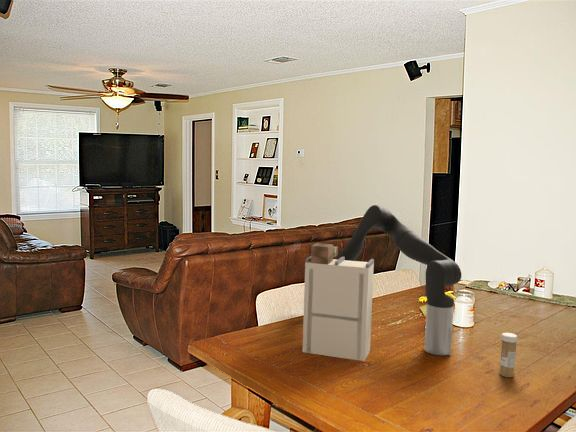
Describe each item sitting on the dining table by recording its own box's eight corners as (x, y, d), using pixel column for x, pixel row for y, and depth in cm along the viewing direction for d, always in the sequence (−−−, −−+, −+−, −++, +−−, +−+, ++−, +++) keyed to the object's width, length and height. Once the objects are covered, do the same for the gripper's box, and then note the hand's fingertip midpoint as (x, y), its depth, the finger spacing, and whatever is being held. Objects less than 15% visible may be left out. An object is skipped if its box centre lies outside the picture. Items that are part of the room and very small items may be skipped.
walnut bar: (341, 254, 195) (342, 239, 194) (327, 264, 174) (328, 247, 174) (326, 253, 197) (326, 238, 196) (310, 263, 176) (311, 245, 176)
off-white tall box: (369, 350, 183) (374, 259, 180) (364, 361, 173) (368, 264, 170) (310, 342, 190) (313, 254, 187) (302, 352, 180) (305, 259, 177)
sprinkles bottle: (496, 372, 167) (499, 332, 165) (509, 372, 167) (512, 332, 166) (503, 378, 162) (506, 336, 161) (517, 377, 163) (520, 336, 161)
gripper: (319, 258, 212) (317, 256, 196) (353, 263, 210) (354, 261, 194) (316, 276, 211) (314, 275, 195) (351, 281, 210) (351, 281, 194)
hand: (334, 268), depth 195 cm, fingers open, 8 cm apart
